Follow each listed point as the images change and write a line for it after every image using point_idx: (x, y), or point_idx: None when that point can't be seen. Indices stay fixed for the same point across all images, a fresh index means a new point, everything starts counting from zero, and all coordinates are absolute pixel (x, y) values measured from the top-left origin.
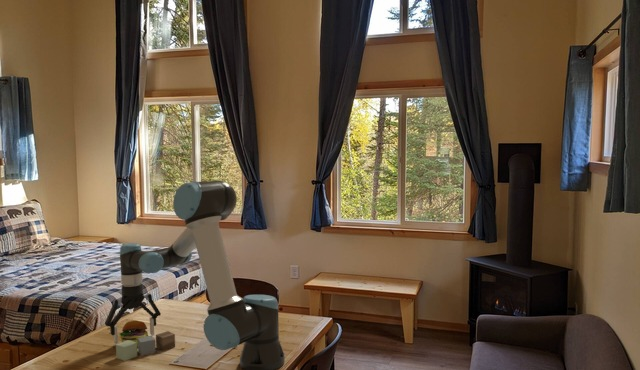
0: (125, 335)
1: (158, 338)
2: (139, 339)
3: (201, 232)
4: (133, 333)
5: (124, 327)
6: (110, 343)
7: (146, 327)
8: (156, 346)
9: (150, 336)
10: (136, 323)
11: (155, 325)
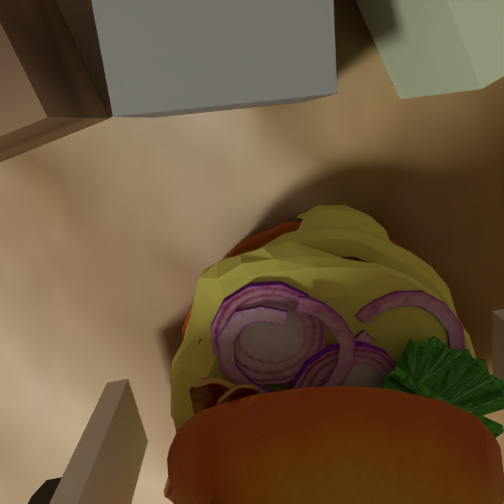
0: (439, 371)
1: (21, 31)
2: (320, 10)
3: None
4: (354, 351)
5: (501, 463)
6: None
7: (172, 444)
8: (102, 111)
9: (135, 70)
10: (338, 466)
11: (49, 483)
